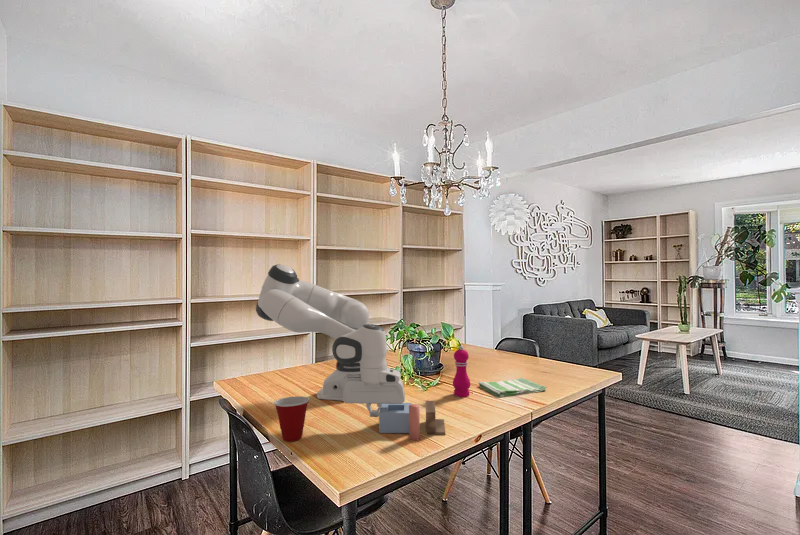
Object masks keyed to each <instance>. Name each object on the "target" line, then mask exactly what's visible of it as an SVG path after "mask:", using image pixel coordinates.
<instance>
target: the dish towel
mask: <svg viewBox="0 0 800 535" xmlns="http://www.w3.org/2000/svg"><path fill="white" fill-rule="evenodd" d="M478 386H479V388H480V389H483V390H484V391H487V392H489V393H490V394H492V395H494V396H496V397H498V398H503V397H504V398H505V397H511V396H517V395H518V396H519V395H526V394H533V393H539V392H544V391H546V389H547V386H545V385H541V384H538V383H536V382H534V381H531V380H529V379H526V378H524V377H520V378H516V379H511V380H510V379H508V380H502V381H501V380H499V381H479V382H478Z"/></svg>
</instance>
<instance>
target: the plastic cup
mask: <svg viewBox="0 0 800 535" xmlns="http://www.w3.org/2000/svg"><path fill="white" fill-rule="evenodd" d="M309 402H310V398H309V397H308V396H301V395H300V396H287V397H282V398H279V399H276V400H274V401H273V405H274V407H275V409H276V413H277V418H278V423H279V428H280V431H281V438H282V440H283V441H284V442H291V443H292V442H296V441H300V439H302V437H303V434H304V428H305V427H304V426H305V421H306V413H307V412H306V411H307V408H308V403H309Z"/></svg>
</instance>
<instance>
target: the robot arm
mask: <svg viewBox="0 0 800 535" xmlns="http://www.w3.org/2000/svg"><path fill="white" fill-rule="evenodd" d="M260 290H261V291H260V293H259V297H258V299H257V300H258V301H257V302H256V305H255V306H256V307H255V312H256V314H257V316H258V317H259V318H261V319H263V320H265V321H269V322H275V323H277V325H279V326H281V327H283V328H284V329H286V330H288V331H291V332H294V333H297V334H300V333H302V334H303V333H321V334H325V335H326V336H329V337H330V338H333V339H334V341H333V343H332V347H331V351H332V355H333V357H334V358H335V361H336V363H335V368H336V369H335V370H334V371H333V372H331V373H330V374H329V375H328V376H327V377H325V379H324V381H323V383H322V388H321V389H319V391H318V392H317V393H316V398H317V399H318V400H329V401H343V402H344V403H345V404H359V405H361V404H364V405H365V407H366V409H367V410H368V412H369V417H370V418H379V411H380V409H381V407H382V404H402V403H405V401H406V394H405V386H404V383H403V380H402V378H401V376H402V375H401V372H400V371H399V370H396V369H393V368H390V367H388V363H387V359H386V358H387V354H388V349H387V347H388V343H387V335H386V331H385V329H384V327H382V326H380V325H377V324H374V323H373V324H370V323H369V322H370V321H369V320H370V313H369V312H370V311H369V309H368V307H367V305H366V304H364V303H363V302H361V301H360V300H358V299H355V298H352V297H349V296H347V295H344V294H341V293H338V292H336V291H333V290H330V289H328V288H325V287H322V286H320V285H317V284H314V283H311V282H309V281H304V280H302V279H301V280H300V279H299V277H298V275H297V273H296V271H295V270H294V269H293V268H291V266H288V265H286V264H280V263H279V264H275V265H272V266H271V267H270V268H269V270H268V272H267V276H266V278H265V279H264V281H263V284H262V286H261V289H260ZM373 404H374V405H375V404H376V407H377V409H372V405H373Z"/></svg>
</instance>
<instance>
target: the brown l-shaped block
mask: <svg viewBox="0 0 800 535" xmlns="http://www.w3.org/2000/svg"><path fill="white" fill-rule="evenodd" d="M425 435H429V436H430V435H437V436H438V435H439V436H442V435H443V436H444V435H446V425H445V419H444V418H439V419H438V418H436V400H425Z"/></svg>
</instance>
